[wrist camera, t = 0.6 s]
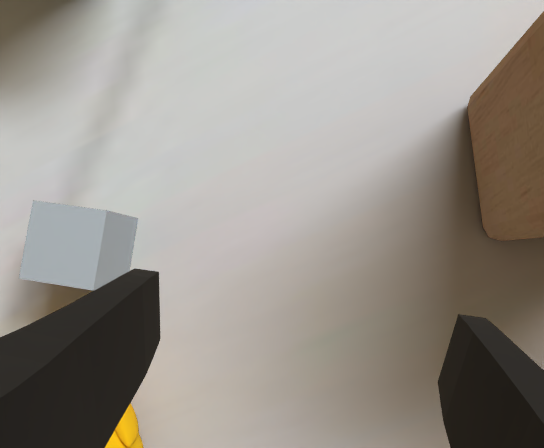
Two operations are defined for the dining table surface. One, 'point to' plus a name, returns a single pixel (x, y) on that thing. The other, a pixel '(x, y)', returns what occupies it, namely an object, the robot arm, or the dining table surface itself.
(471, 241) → the dining table surface
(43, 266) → the slate block
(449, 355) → the robot arm
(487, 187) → the block
